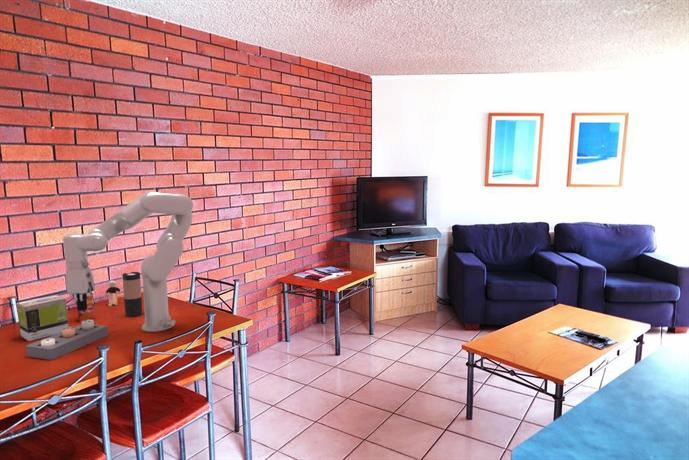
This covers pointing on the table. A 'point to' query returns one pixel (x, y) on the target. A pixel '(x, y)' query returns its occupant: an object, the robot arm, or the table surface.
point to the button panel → (66, 343)
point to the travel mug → (132, 294)
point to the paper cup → (87, 310)
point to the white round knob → (48, 342)
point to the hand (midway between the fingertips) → (82, 309)
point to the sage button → (87, 325)
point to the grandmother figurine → (112, 293)
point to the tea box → (42, 317)
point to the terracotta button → (68, 332)
